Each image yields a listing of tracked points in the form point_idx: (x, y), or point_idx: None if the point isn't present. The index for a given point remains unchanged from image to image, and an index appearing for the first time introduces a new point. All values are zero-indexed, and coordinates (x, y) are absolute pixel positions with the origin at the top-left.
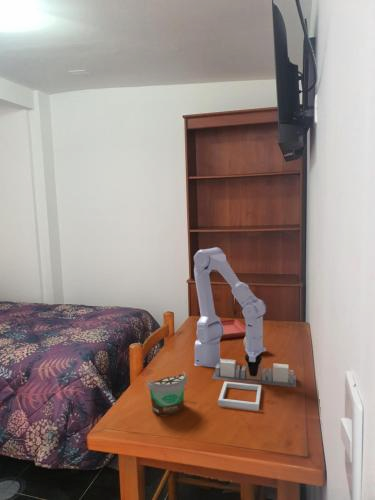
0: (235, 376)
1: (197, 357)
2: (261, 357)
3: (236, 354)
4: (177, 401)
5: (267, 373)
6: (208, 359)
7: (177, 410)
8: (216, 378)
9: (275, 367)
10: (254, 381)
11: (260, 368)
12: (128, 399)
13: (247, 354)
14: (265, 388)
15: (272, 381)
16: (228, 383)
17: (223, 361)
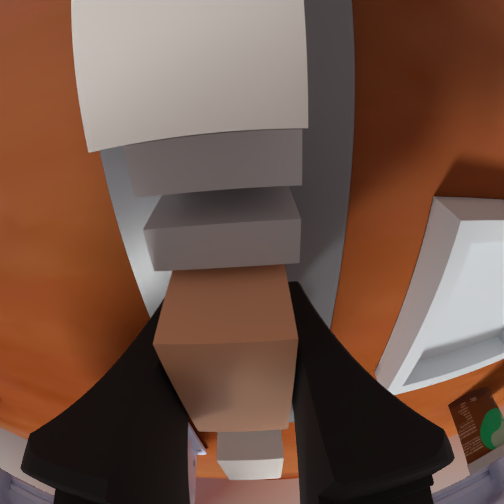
0: None
1: (193, 475)
2: (365, 489)
3: (10, 360)
4: (499, 412)
5: (109, 180)
6: (189, 464)
7: (489, 394)
8: None
9: (303, 69)
10: (317, 265)
11: (292, 312)
12: None
13: (188, 491)
14: (393, 163)
15: None
16: (404, 381)
17: (265, 475)
